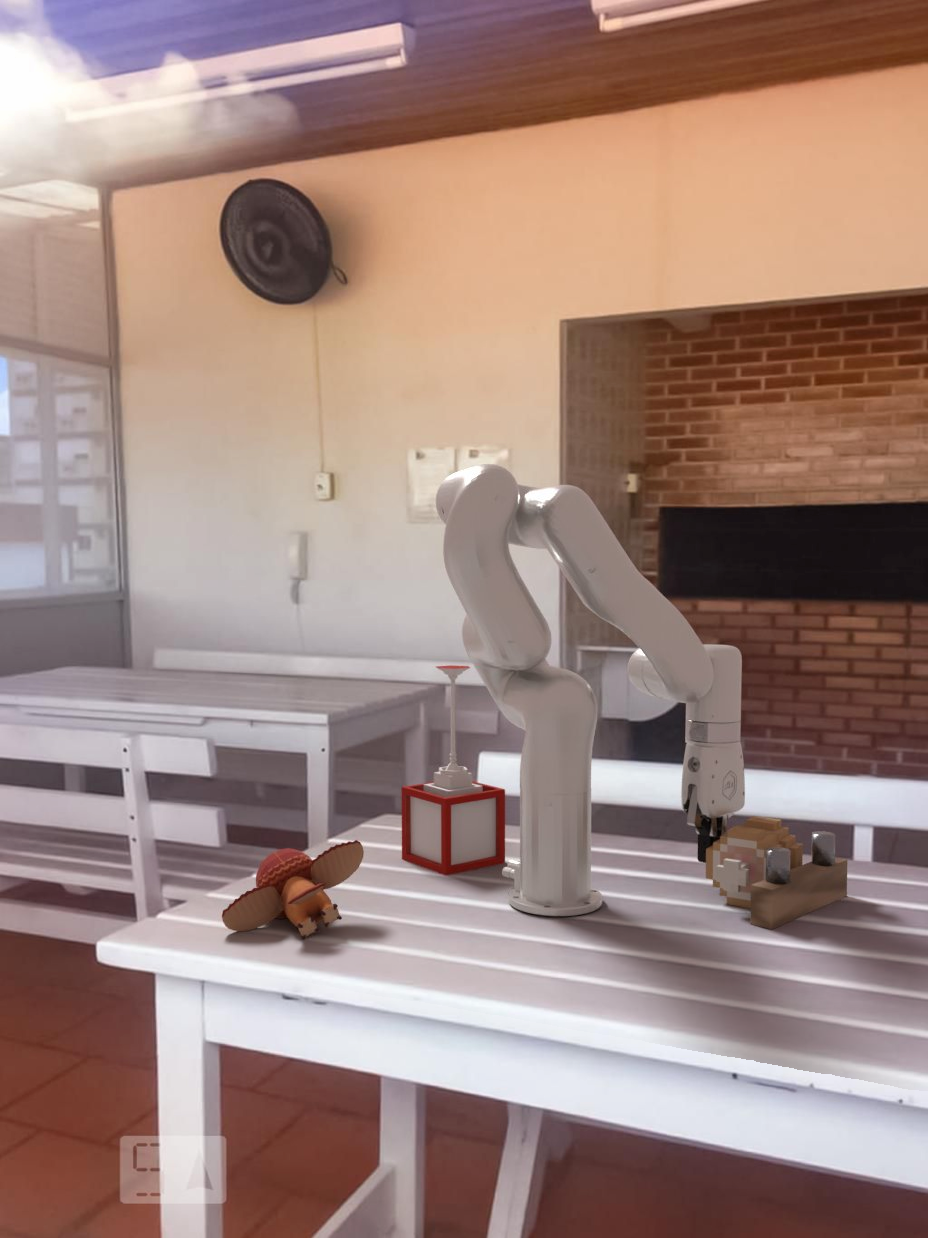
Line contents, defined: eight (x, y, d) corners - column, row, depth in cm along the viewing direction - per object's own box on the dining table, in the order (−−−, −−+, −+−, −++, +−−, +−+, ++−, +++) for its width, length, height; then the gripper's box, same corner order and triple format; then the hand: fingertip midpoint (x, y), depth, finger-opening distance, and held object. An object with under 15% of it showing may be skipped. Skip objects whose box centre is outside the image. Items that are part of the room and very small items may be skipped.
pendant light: (460, 847, 175) (459, 662, 174) (505, 862, 166) (505, 667, 165) (401, 859, 168) (401, 666, 167) (445, 875, 159) (445, 672, 158)
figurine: (397, 909, 138) (349, 857, 150) (380, 854, 134) (332, 805, 147) (256, 989, 130) (217, 927, 143) (234, 933, 127) (196, 874, 139)
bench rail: (750, 923, 137) (751, 853, 137) (826, 891, 151) (827, 827, 151) (771, 929, 135) (772, 858, 135) (846, 895, 149) (847, 830, 149)
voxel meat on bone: (810, 887, 153) (811, 817, 153) (768, 921, 138) (769, 843, 138) (742, 876, 159) (742, 808, 158) (694, 907, 144) (694, 833, 144)
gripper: (708, 741, 144) (705, 878, 145) (763, 730, 155) (760, 857, 156) (660, 735, 149) (657, 867, 150) (717, 725, 160) (714, 848, 161)
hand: (710, 862), depth 153 cm, fingers closed
